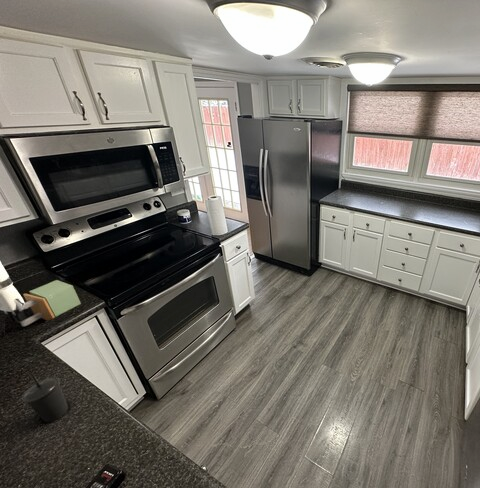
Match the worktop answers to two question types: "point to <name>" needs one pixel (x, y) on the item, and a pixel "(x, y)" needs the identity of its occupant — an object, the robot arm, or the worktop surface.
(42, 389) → the drinking cup
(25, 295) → the door
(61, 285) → the cupboard
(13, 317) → the robot arm
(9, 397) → the worktop surface
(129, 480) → the worktop surface
